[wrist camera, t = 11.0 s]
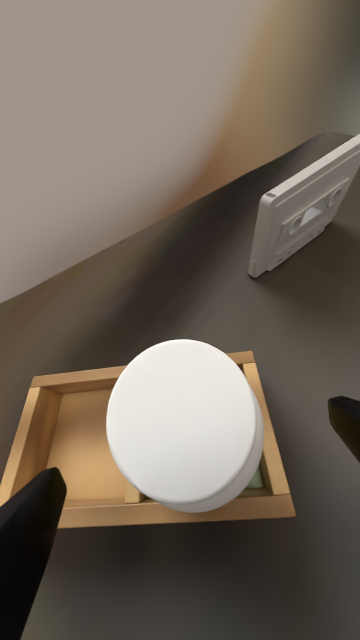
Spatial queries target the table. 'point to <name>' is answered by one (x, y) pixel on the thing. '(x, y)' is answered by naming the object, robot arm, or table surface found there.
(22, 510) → the robot arm
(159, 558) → the table surface
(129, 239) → the table surface
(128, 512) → the tray
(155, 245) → the table surface
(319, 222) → the cassette
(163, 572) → the table surface
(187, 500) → the supplement bottle
